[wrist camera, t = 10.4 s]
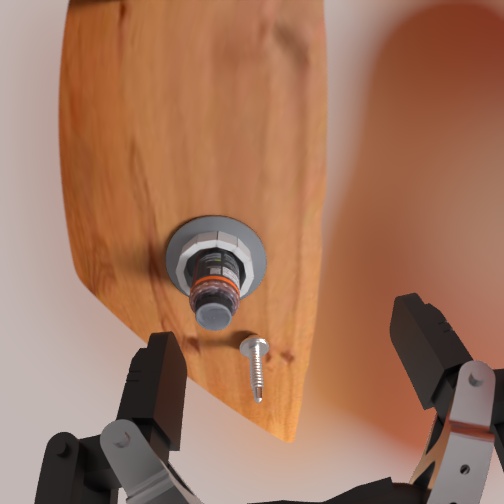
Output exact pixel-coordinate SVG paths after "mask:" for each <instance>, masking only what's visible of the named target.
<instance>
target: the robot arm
mask: <svg viewBox="0 0 504 504" xmlns="http://www.w3.org/2000/svg"><path fill="white" fill-rule="evenodd" d="M390 337H391V341H392V343H393V345H394V347H395V349H396V351H397V353H398V355H399V357H400V359H401V361H402V363H403V366H404V367H405V370H406V372H407V374H408V376H409V378H410V380H411V382H412V384H413V387H414V389H415V391H416V393H417V395H418V398H419V400H420V402H421V404H422V406H423V409H424V410H426V409H429V408H432V407H435V409H436V411H437V413H436V414H435V417H434V420H433V424H432V427H431V430H430V434H429V437H428V440H427V443H426V446H425V449H424V451H423V454H422V457H421V460H420V462H419V464H418V465H417V467H416V469H415V471H414V473H413V475H412V477H411V479H410V481H409V484H408V483H392V480H391V477H388V478H385V479H381V480H378V481H374V482H371V483H368V484H364V485H360V486H357V487H355V488H353V489H351V490H349V491H347V492H344V493H342V494H340V495H338V496H336V497H334V498H332V499H329V500H327V501H324V502H299V501H286V500H281V501H272V502H262V503H251V504H479V503H480V499H481V496H482V492H483V489H484V485H485V482H486V478H487V474H488V470H489V466H490V461H491V457H492V452H493V446H494V447H495V449H496V452H497V455H498V457H499V460H500V463H501V465H502V469H503V472H504V369H495V370H492V369H491V368H490V366H488V365H487V364H486V363H484V362H482V361H477V360H473V358H472V357H471V355H470V354H469V352H468V351H467V349H466V348H465V346H464V345H463V343H462V342H461V340H460V339H459V337H458V336H457V334H456V333H455V331H453V330H452V327H451V326H450V324H449V323H447V320H446V319H445V317H444V316H443V314H442V313H441V312H440V310H438V309H437V308H435V307H434V306H432V305H431V304H429V303H428V304H424V303H423V301H422V300H421V298H420V297H419V296H418V294H416V293H411V294H407V295H402V296H398V297H396V298H395V301H394V307H393V313H392V318H391V323H390ZM186 379H187V366H186V361H185V358H184V356H183V354H182V351H181V349H180V347H179V344H178V342H177V340H176V337H175V335H174V333H173V332H172V331H170V332H160V333H152V334H151V335H150V338H149V342H148V346H147V348H140V349H139V351H138V352H137V353H136V354H135V356H134V357H133V358H132V361H131V364H130V368H129V373H128V375H127V379H126V383H125V387H124V390H123V394H122V398H121V403H120V406H119V410H118V414H117V418H116V420H115V421H113V422H111V423H110V424H108V425H107V426H106V427H105V428H104V429H103V431H102V433H101V434H100V435H97V436H92V437H87V438H83V439H77V438H76V437H75V436H74V435H72V434H71V433H68V432H60V433H58V434H56V435H54V436H53V437H52V438H51V439H50V440H49V442H48V444H47V446H46V450H45V454H44V458H43V463H42V467H41V472H40V477H39V481H38V486H37V492H36V497H35V503H34V504H117V502H118V490H119V488H121V487H123V488H124V490H125V492H126V494H127V496H128V498H127V499H126V503H127V504H203V502H201V500H200V499H199V498H198V497H197V496H196V495H195V494H194V492H193V491H192V490H191V489H190V488H189V486H188V485H187V484H186V483H185V482H184V480H183V479H182V478H181V476H180V475H179V474H178V472H177V471H176V470H175V469H174V467H173V466H172V465H171V463H170V462H169V461H168V459H169V451H179V450H180V439H181V428H182V418H183V408H184V397H185V388H186ZM249 504H250V503H249Z"/></svg>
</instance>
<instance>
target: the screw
mask: <svg viewBox="0 0 504 504" xmlns="http://www.w3.org/2000/svg"><path fill="white" fill-rule="evenodd" d="M268 350H269V343H268V342H267V341H266V340H265V339H264V338H261V337H260V336H259V335H258V334H254V335H249V336H248V337H247V338H246V339H245V340H243V341H242V342H241V344H240V352H241V353H242V354H243V355H244V356H246V357H249V358H250V359H249V361H250V375H251V376H250V378H251V387H252V391H253V394H254V399H255V402H256V403H260V402H261V400H262V394H263V393H262V389H263V385H264V383H263V374H262V365H261V364H262V363H261V356H263V355H265V354H266V353H267V352H268Z"/></svg>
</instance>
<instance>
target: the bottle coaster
mask: <svg viewBox="0 0 504 504" xmlns="http://www.w3.org/2000/svg"><path fill="white" fill-rule="evenodd" d="M212 247H219V248H222V249H225V250H228V251H231V252H232V253H233V254H234V255H235V257H236V259H237V261H238V268H239V288H240V300H241V299H243V298H245V297H247V296H248V295H250V294H251V293H252V292H253V291H254V290H255V289H256V288H257V287H258V286H259V285H260V283H261V281H262V280H263V277H264V275H265V271H266V265H267V260H266V253H265V249H264V246H263V243H262V241H261V240H260V238H259V237H258V235H257V234H256V233H255V232H254V231H253V230H252V229H251V228H250V227H249V226H247V225H246V224H244V223H243V222H241V221H239V220H237V219H234V218H231V217H227V216H221V215H209V216H203V217H198V218H196V219H193V220H191V221H189V222H187V223H186V224H184V225H183V226H182V227H180V228H179V229H178V230H177V231H176V233H175V234H174V235H173V237H172V239H171V240H170V243H169V245H168V248H167V252H166V268H167V272H168V274H169V277H170V279H171V280H172V282H173V283H174V285H175V286H176V287H177V288H178V289H179V290H180V291H181V292H182V293H183V294H185V295H186V296H188V297H189V295H190V288H191V283H192V277H193V271H194V265H195V261H196V258H197V257H198V255H199V254H200V253H201V252H202V251H203V250H205V249H207V248H212Z"/></svg>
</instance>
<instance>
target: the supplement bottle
mask: <svg viewBox="0 0 504 504" xmlns="http://www.w3.org/2000/svg"><path fill="white" fill-rule="evenodd" d="M189 303H190V306H191V309H192V310H193V312H194V313H195V317H196V321H197V322H198V324H199V325H200V326H201V327H203V328H205V329H207V330H212V331H217V330H222V329H224V328H226V327H227V326H228V325H229V324H230V323H231V320H232V316H233V315H234V314H235V313H236V312H237V310H238V308H239V305H240V288H239V268H238V261H237V259H236V257H235V255H234V254H233V253H232V252H231V251H228V250H225V249H222V248H219V247H212V248H207V249H205V250H203V251H202V252H201V253H200V254H199V255H198V257H197V258H196V261H195V265H194V271H193V277H192V283H191V288H190V295H189Z"/></svg>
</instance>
